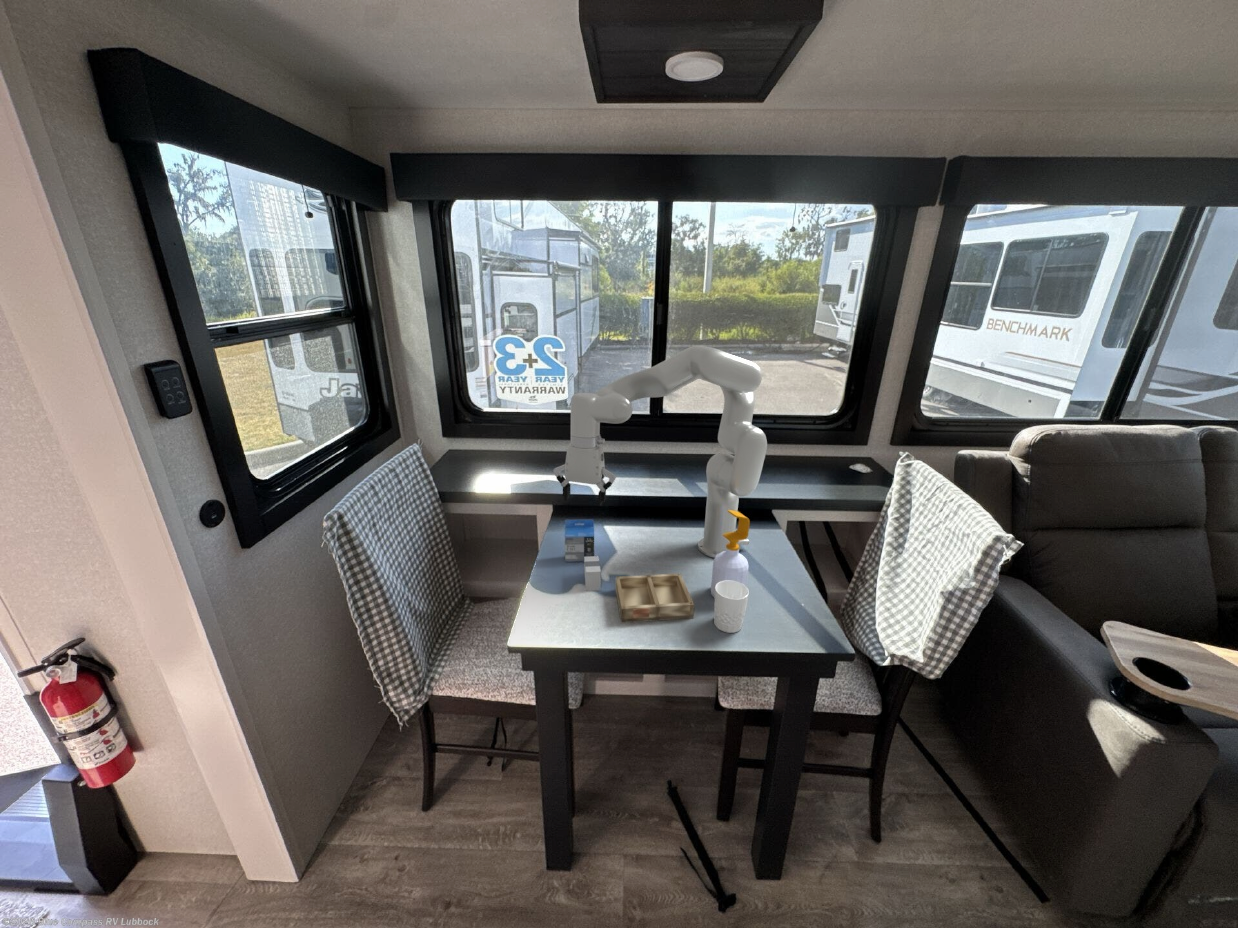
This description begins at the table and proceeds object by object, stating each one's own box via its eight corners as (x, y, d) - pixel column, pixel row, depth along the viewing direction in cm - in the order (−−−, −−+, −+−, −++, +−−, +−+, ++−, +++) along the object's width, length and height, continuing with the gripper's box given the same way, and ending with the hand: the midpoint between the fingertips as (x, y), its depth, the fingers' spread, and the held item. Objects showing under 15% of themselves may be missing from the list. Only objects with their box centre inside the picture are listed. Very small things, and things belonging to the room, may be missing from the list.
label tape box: (564, 562, 142) (564, 525, 138) (565, 555, 146) (564, 519, 142) (594, 561, 142) (594, 525, 138) (594, 554, 146) (594, 518, 142)
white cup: (721, 609, 122) (724, 576, 118) (749, 622, 117) (754, 588, 114) (705, 625, 116) (709, 590, 112) (735, 639, 111) (739, 603, 108)
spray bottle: (704, 588, 130) (711, 507, 122) (732, 582, 134) (741, 502, 125) (721, 607, 123) (731, 521, 114) (751, 600, 126) (762, 516, 117)
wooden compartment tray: (679, 585, 132) (680, 572, 130) (693, 618, 118) (694, 605, 117) (615, 588, 129) (615, 576, 128) (621, 623, 116) (621, 609, 114)
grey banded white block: (598, 574, 136) (598, 555, 134) (600, 590, 129) (600, 571, 127) (584, 575, 136) (584, 556, 134) (585, 591, 128) (585, 571, 126)
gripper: (620, 440, 125) (618, 500, 131) (558, 434, 129) (558, 492, 134) (613, 448, 118) (611, 511, 124) (548, 441, 122) (549, 502, 127)
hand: (584, 501), depth 129 cm, fingers open, 9 cm apart
